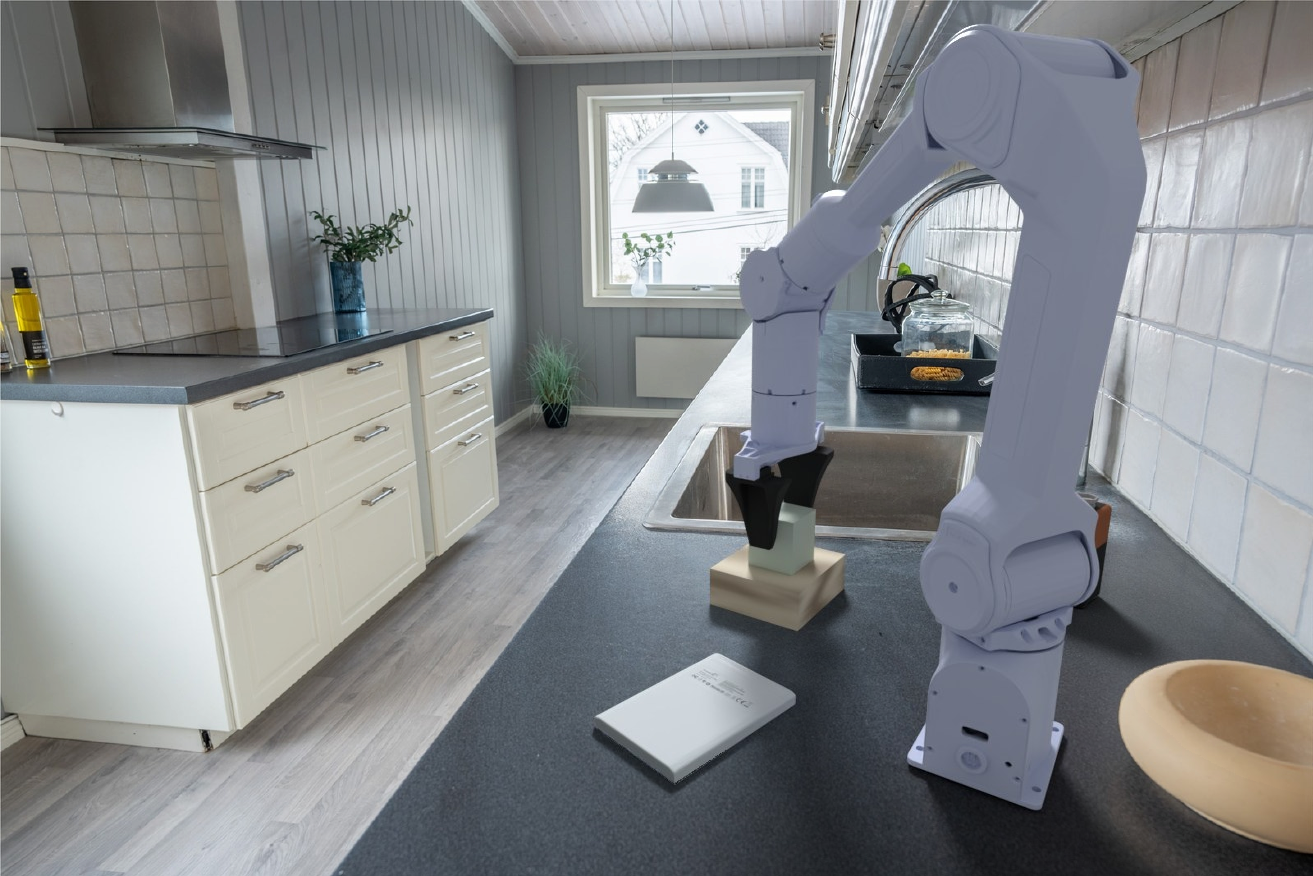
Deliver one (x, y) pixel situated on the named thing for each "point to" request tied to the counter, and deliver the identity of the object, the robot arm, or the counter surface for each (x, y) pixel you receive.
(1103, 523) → the battery
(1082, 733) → the counter surface
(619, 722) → the external hard drive
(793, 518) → the sage block
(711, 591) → the birch block
